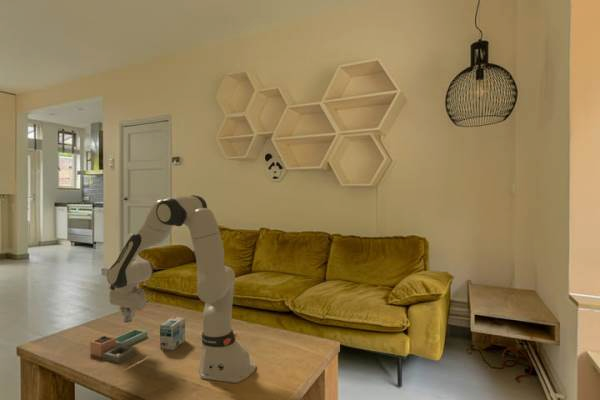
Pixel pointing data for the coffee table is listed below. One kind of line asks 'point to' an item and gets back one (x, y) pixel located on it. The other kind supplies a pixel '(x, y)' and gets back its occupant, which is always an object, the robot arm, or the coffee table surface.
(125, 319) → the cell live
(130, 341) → the trough
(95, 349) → the open cubby frame
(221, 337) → the robot arm
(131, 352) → the gray square frame
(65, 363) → the coffee table surface
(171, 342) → the light bulb box
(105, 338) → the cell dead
